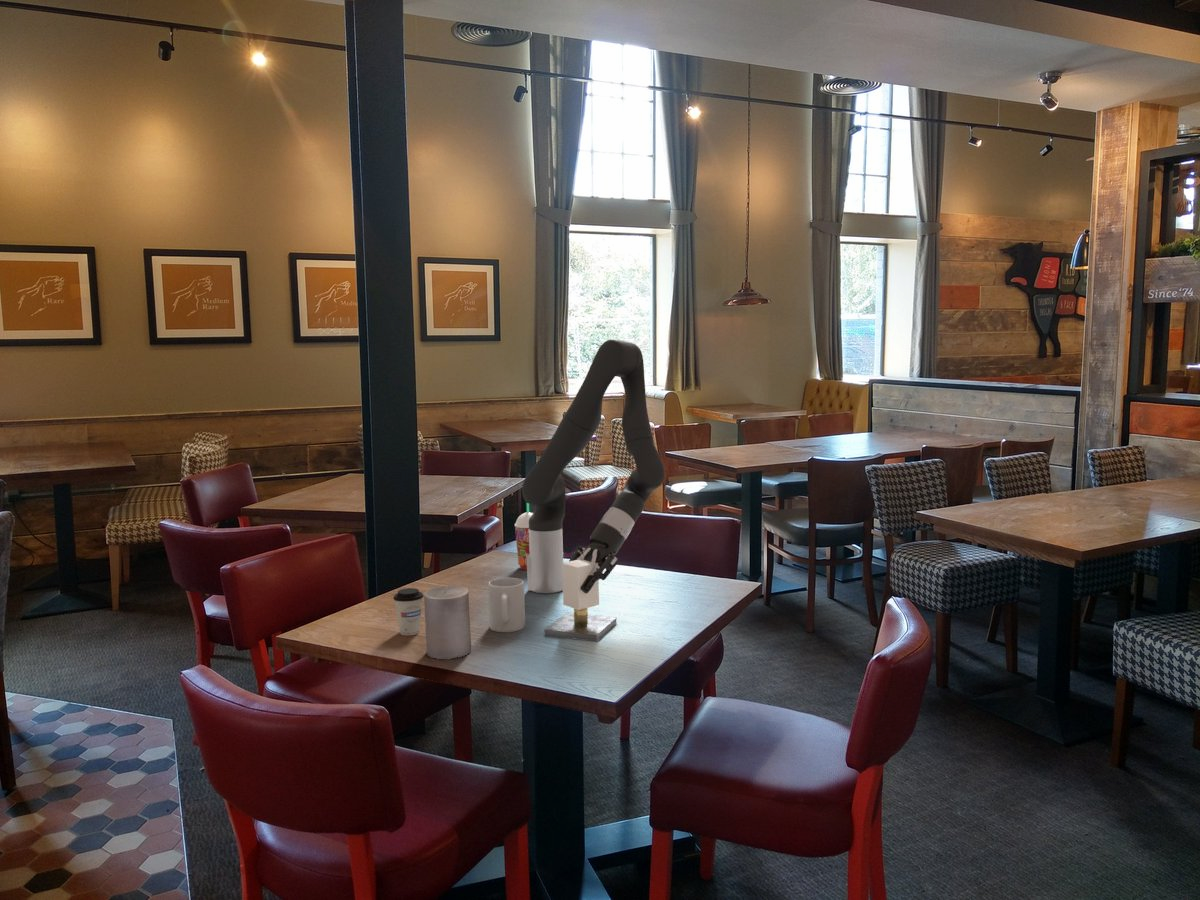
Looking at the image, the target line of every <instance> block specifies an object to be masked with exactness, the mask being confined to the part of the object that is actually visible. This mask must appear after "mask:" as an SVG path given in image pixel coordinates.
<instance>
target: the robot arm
mask: <svg viewBox="0 0 1200 900" xmlns="http://www.w3.org/2000/svg"><path fill="white" fill-rule="evenodd" d="M644 365H645V364H644V357H643V353H642V350H641V349H640V347H639V346H638V345H637V344H636V343H633V342H630V341H625V340H620V339H616V338H610V339H607V340H606V341H604V342H603V343H602V344H600V347H599V348H598V350H597V351H596V353H595V356H594V357H593V360H592V363H591V364H590V367H589V370H588V371H587V374H586V375H585V377H584V380H583V382H582V384H581V386H580V387H579V389H578V391H577V393H576V395H575V396H574V399H573V400H572V402H571V403H570V406H569V407H568V409H567V410H566V412H565V413H564V415H563V417H562V419H561V421H560V422H559V424H558V426H557V428H556V430H555V431H554V433H553V435H552V437H551V439H550V440H549V442H548V444H547V446H546V447H545V450H544V451H543V453H542V454H541V456H540V457H539V459H538V460H537V462H536V463H534V466H533V467H532V469H531V470H530V471H529V472H528V474H527V475H526V477H525V478H524V480H523V483H522V488H521V492H522V498H523V499H524V501H525V502H526V504H527V503H529V506H530V505H531V506H534V507H535V509H534V512H532V513H533V515H532V516H531V517H530V519H529V549H530V555H529V556H527V570H526V575H527V577H526V578H527V591H531V592H533V593H537V594H553V593H558V592H563V579H562V563H564V546H563V545H564V544H563V543H564V542H563V539H564V538H563V521H564V518H565V514H566V484H565V481H564V478H563V475H562V472H563V471H564V470H565V469H566V467H567V466H568V465H569V464H570V463H571V462H572V461H573V460H574V459H575V458H576V457H577V456H578V455H580V454H581V452H582V451H583V450H584V449H585V448H586V447H587V446H588V444H589V443H590V441H591V439H592V438H593V436H594V435H595V433H596V432H597V429H598V428H599V426H600V423H601V419H602V411H603V399H604V395H605V393H606V391H607V390H608V388H609V386H610V384H611V383H612V381H613V380H614V379H615V377H618V378H620V380H621V383H622V386H623V391H624V396H625V397H624V407H623V411H622V417H621V428H622V433H623V437H624V438H623V439H624V442H625V447H626V450H627V453H628V455H630V456H631V457H633V459H634V463H635V466H636V467H635V469H634V470H633V471H632V472H631V474H630V475H629V477H628V479H627V481H626V482H625V484H624V486H623V487H622V490H621V492H620V493H619V494H618V495H617V497H616V498H615V500H614V502H613V503H612V504H611V506H610V507H609V509H608V510H607V511H606V512H605V514H604V515H603V516H602V518H601V519H600V521H599V523H598V524H597V525H596V527H595V529H593V531H592V533H591V535H590V537H589V540H590V541H589V544H588V545H587V546H586V547H582V546H581V545H577V546H576V548H575V550H574V552H573V553H572V555H571V557H570V559H569V561H574V560H583V559H584V560H586V561H590V562H591V564H593V568H592V570H591V571H590V576H589V575H588V577H587V578H586V580H585V581H584V583H583V584H582V586H581V588H580V589H581V590H582V591H583V592H584V593H588V592H589V591H590V590H591V588H592V586H593V585H594V583H595V582H596V581H598V582H599V581H600V580H602V581H604V580H606V579H607V578H608V577H609V575H610V574H611V573H612V571H613V570H614V569H615V568H616V566H617V565H618V564H619V559H618V558H617V557H616V556H615V555H617V554H618V552H619V550H620V549H621V547H622V546H623V544H624V542H625V541H626V540H627V539H628V537H629V534H631V531H632V530H633V527H634V526H635V523H636V522H637V520H638V519H639V518H640V516H641V515H642V512H643V510H644V508H645V503H646V502H647V500H648V499H649V497H650V496H651V494H652V493H653V492H654V491H655V490H657V489H658V488H660V486H662V485H663V483H664V481H665V476H666V473H665V472H666V471H665V467H664V463H663V461H662V459H661V456H660V453H659V451H658V449H657V447H656V445H655V442H654V437H653V431H652V428H651V427H652V426H651V423H650V419H649V418H650V417H649V413H648V406H647V396H646V383H645V366H644ZM569 561H568V562H569ZM597 563H598V565H597ZM596 570H597V572H596Z"/></svg>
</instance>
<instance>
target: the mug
mask: <svg viewBox="0 0 1200 900" xmlns="http://www.w3.org/2000/svg"><path fill="white" fill-rule="evenodd" d="M524 583H525V582H524V580H523V579H521V578H517V577H501V578H495V579H492V580H490V581H489V582H488V588H487V589H488V610H489V611H488V612H489V614H488V615H489V616H488V617H489V621H488V622H489V624H488V625H489V629H490V630H491V631H493V632H497V633H513V632H518V631H521V630H523V629H524V628H525V627H526V614H525V613H526V611H525V610H526V608H525V584H524Z"/></svg>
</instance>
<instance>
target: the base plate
mask: <svg viewBox="0 0 1200 900" xmlns="http://www.w3.org/2000/svg"><path fill="white" fill-rule="evenodd" d="M616 625H617V617H611V616H601V615H592V614H589V613H588V608H585V609H581V610H577V609H574V608H573V612H572V613H571V612H566V613H564V614H563V615H561V616H560V617H559V618H557V619H556V620H555V621H554V622H552V623H550V625H548V626H547V627H546V628H544V629H543V630H544V631H543V632H544V633H543V634H544V636H546V637H555V638H564V639H574V640H582V641H583V640H584V641H591V642H598V641H599V640H601V638H602V637H604V635H606V634H607V633H608V632H609V631H610V630H611V629H613V628H614V627H615V626H616Z"/></svg>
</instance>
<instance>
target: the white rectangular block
mask: <svg viewBox="0 0 1200 900" xmlns="http://www.w3.org/2000/svg"><path fill="white" fill-rule="evenodd" d="M597 565H598V563H597ZM592 568H593V564H591V562H590V561H586V560H584V559H583V560H574V561H565V562H564V561H563V563H562V579H563V590H562V602H563V603H562V604H563V605H564V606H567V607H569V608H572V609H573V610H574V609H577V610H581V609H585V608H592V607H596V606H600V592H599V591H600V590H599V580H598V581H596V582H595V583H594V585H593V586H592V588H591V590H590V591H589V592H588V593H584V592H583V591H582V590H581V589H580V588H581V586H582V584H583V583H584V581H585V580H586V578H587V577H588V575H589V576H590V571H591V570H592ZM596 572H597V570H596Z"/></svg>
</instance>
